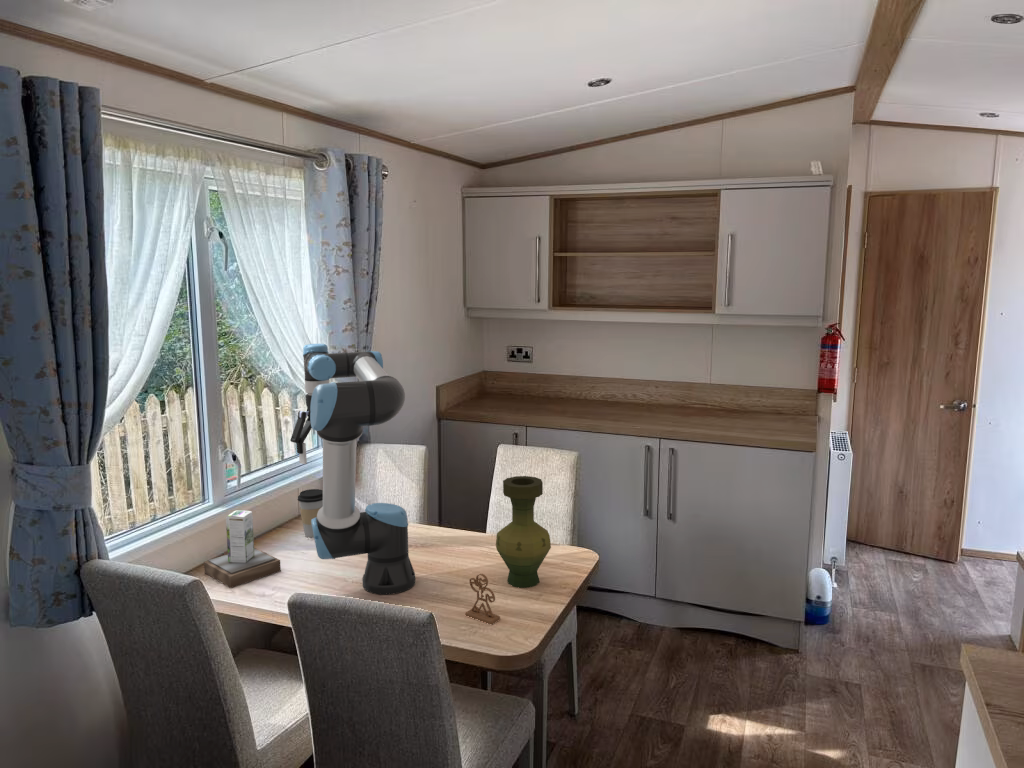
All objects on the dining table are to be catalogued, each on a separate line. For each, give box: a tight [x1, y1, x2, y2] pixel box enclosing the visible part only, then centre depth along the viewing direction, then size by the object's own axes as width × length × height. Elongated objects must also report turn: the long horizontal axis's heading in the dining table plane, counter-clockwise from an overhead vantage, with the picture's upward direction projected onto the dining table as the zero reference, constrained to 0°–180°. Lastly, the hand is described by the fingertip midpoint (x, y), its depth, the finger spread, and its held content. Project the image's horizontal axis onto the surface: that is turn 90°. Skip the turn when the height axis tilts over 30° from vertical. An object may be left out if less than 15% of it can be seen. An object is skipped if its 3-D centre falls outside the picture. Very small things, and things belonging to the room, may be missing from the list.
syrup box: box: [225, 509, 255, 563], centre depth 227 cm, size 6×6×14 cm
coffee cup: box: [297, 488, 323, 539], centre depth 258 cm, size 9×9×15 cm
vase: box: [495, 475, 552, 589], centre depth 218 cm, size 16×16×30 cm
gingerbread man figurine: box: [464, 573, 501, 625], centre depth 198 cm, size 9×4×12 cm, turn 54°
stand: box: [203, 547, 282, 589], centre depth 229 cm, size 16×16×4 cm
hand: (321, 459), depth 241 cm, fingers open, 13 cm apart
